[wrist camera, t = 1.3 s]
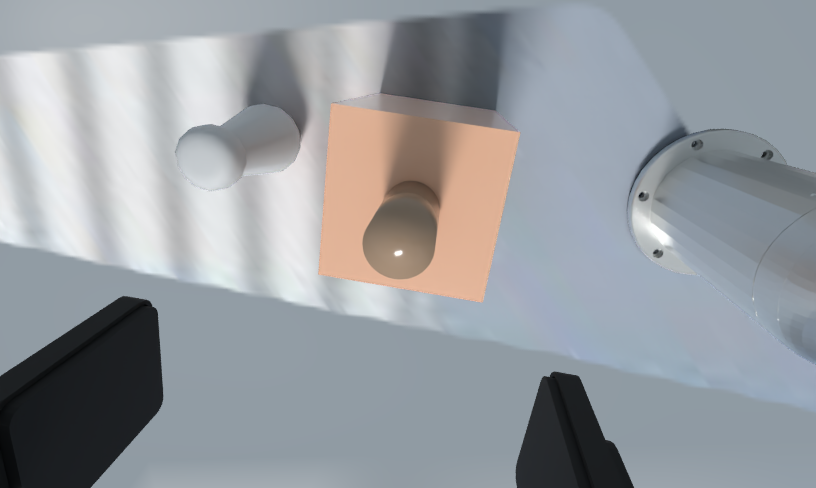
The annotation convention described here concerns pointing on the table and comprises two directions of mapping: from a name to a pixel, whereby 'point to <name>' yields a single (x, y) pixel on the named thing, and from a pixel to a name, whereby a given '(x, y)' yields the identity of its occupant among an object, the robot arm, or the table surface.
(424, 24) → the table surface
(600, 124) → the table surface
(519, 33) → the table surface
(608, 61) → the table surface
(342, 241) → the cover
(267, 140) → the salt shaker
